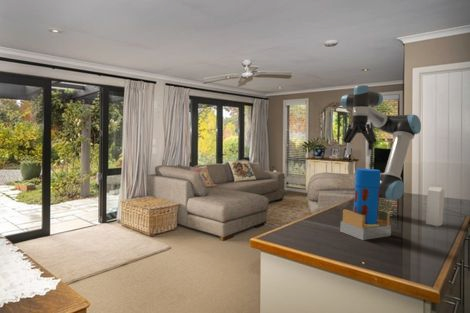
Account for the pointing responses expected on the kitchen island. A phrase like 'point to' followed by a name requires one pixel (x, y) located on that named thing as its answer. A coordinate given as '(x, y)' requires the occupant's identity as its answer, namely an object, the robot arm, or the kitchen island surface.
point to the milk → (435, 205)
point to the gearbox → (365, 225)
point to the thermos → (367, 194)
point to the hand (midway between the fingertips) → (358, 155)
